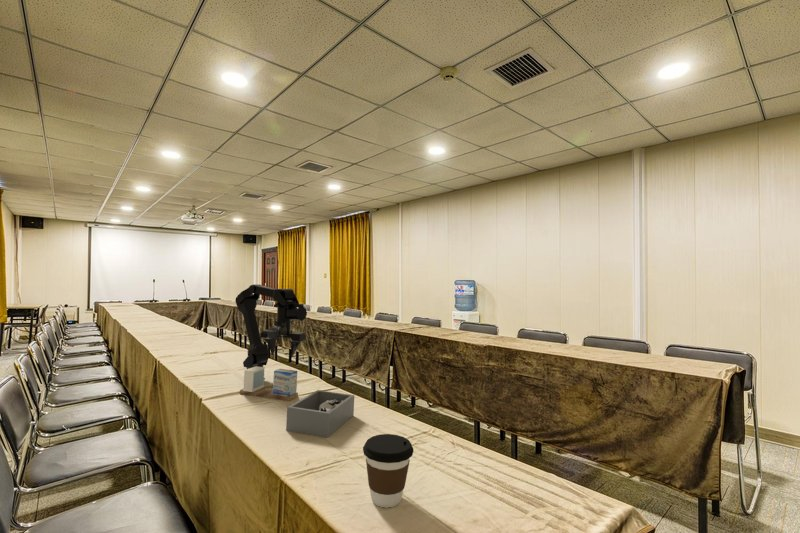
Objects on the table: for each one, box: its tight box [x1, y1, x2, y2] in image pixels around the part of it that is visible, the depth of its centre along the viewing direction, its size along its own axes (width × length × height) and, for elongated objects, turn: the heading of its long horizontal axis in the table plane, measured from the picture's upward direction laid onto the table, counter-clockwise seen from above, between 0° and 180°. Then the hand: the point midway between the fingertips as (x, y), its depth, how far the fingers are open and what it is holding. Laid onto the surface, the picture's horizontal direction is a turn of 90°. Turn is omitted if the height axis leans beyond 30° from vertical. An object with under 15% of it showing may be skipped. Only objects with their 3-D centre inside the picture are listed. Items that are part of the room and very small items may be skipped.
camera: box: [314, 399, 342, 412], centre depth 120 cm, size 13×8×9 cm, turn 163°
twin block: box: [243, 366, 266, 392], centre depth 150 cm, size 4×7×8 cm, turn 164°
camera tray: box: [285, 389, 355, 438], centre depth 123 cm, size 14×19×7 cm
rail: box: [239, 387, 299, 402], centre depth 148 cm, size 22×6×2 cm, turn 74°
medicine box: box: [272, 368, 299, 396], centre depth 147 cm, size 8×4×9 cm, turn 73°
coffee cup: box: [362, 433, 414, 509], centre depth 82 cm, size 11×11×12 cm
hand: (282, 355), depth 160 cm, fingers open, 9 cm apart
